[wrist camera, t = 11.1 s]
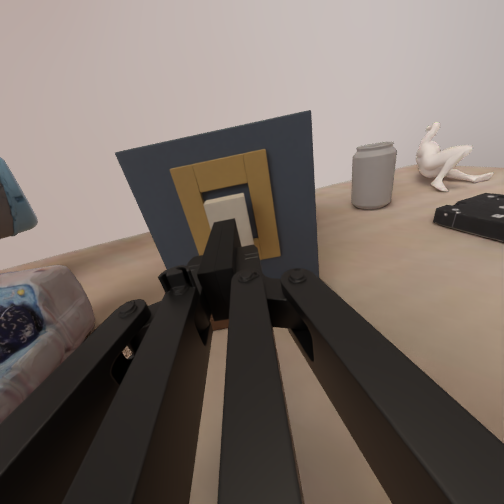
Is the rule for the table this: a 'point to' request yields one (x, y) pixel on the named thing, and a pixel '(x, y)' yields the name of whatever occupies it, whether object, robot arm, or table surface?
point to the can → (373, 175)
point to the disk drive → (475, 216)
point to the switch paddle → (231, 214)
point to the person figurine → (443, 160)
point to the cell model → (38, 328)
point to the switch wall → (231, 191)
